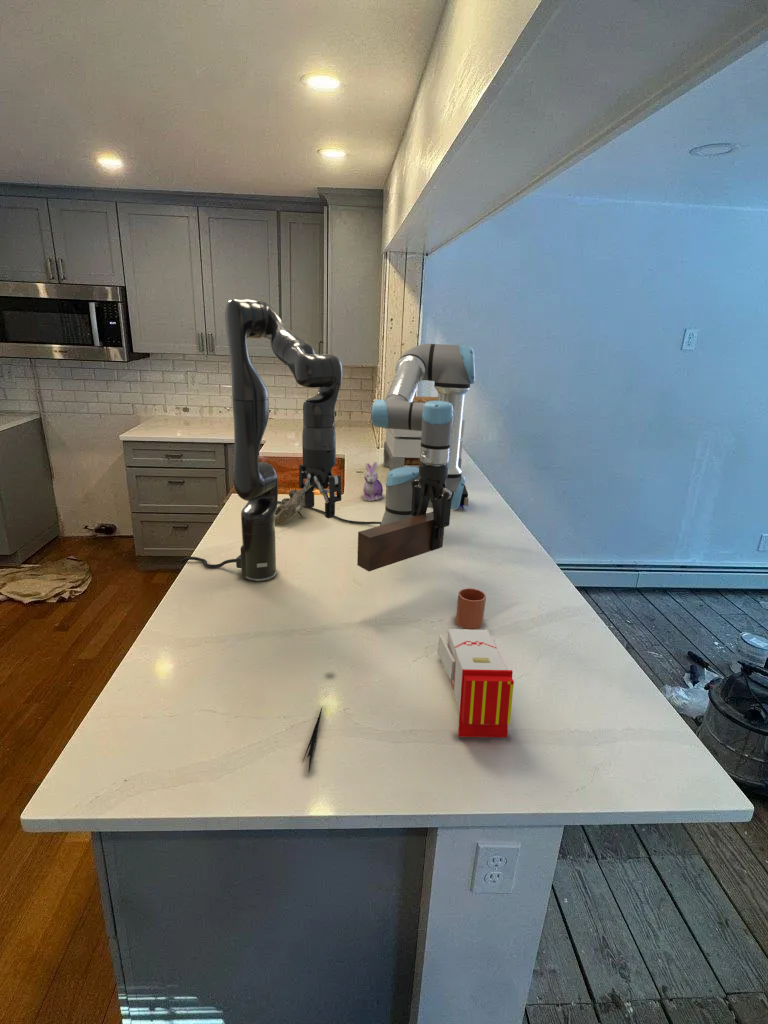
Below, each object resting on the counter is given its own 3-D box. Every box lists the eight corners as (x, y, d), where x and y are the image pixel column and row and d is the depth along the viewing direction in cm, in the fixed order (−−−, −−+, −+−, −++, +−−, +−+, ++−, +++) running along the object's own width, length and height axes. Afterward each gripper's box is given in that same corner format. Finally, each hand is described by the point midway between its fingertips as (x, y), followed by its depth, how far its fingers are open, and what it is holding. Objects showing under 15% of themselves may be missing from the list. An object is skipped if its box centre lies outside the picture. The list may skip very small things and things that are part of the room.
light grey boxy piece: (382, 463, 289) (386, 382, 275) (445, 464, 293) (451, 384, 279) (390, 482, 257) (394, 392, 243) (460, 483, 261) (468, 394, 247)
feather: (331, 679, 122) (336, 673, 122) (307, 777, 96) (313, 769, 95) (324, 675, 122) (329, 669, 121) (298, 772, 95) (304, 764, 95)
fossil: (278, 495, 221) (307, 474, 216) (294, 513, 224) (323, 493, 219) (262, 520, 201) (293, 498, 196) (280, 540, 204) (311, 518, 199)
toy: (488, 613, 130) (523, 677, 101) (484, 667, 133) (517, 744, 104) (435, 612, 130) (455, 676, 101) (432, 666, 133) (451, 743, 103)
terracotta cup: (450, 620, 145) (452, 593, 143) (467, 612, 150) (470, 585, 147) (470, 632, 141) (473, 603, 138) (488, 623, 145) (491, 596, 142)
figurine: (367, 502, 230) (368, 467, 225) (357, 495, 238) (358, 460, 233) (388, 500, 234) (389, 465, 229) (377, 492, 242) (378, 458, 237)
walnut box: (368, 571, 138) (370, 537, 135) (357, 565, 142) (358, 531, 138) (442, 547, 155) (445, 516, 151) (430, 541, 158) (433, 511, 155)
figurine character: (468, 514, 225) (463, 498, 239) (470, 497, 222) (465, 482, 235) (451, 514, 225) (447, 498, 238) (453, 497, 222) (449, 481, 235)
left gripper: (288, 441, 131) (290, 507, 137) (322, 453, 121) (323, 524, 127) (315, 437, 136) (316, 501, 141) (351, 449, 126) (350, 517, 131)
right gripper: (400, 457, 150) (395, 538, 158) (449, 472, 137) (441, 560, 145) (420, 453, 154) (415, 532, 162) (469, 468, 142) (461, 553, 150)
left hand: (319, 512), depth 134 cm, fingers open, 8 cm apart
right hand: (427, 545), depth 154 cm, fingers closed on walnut box, 5 cm apart
